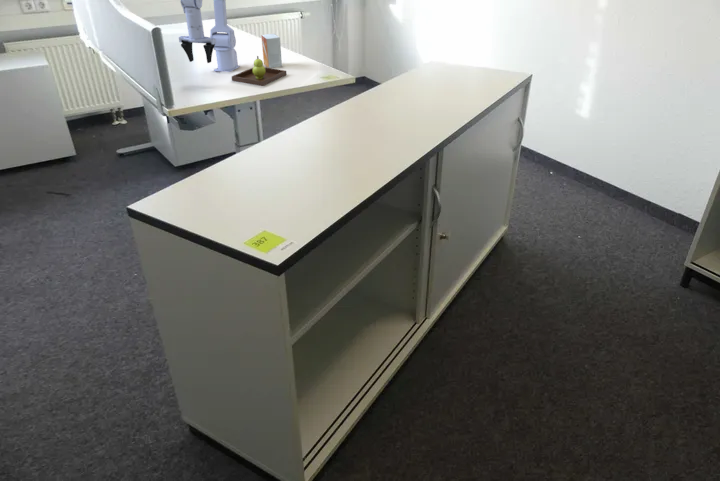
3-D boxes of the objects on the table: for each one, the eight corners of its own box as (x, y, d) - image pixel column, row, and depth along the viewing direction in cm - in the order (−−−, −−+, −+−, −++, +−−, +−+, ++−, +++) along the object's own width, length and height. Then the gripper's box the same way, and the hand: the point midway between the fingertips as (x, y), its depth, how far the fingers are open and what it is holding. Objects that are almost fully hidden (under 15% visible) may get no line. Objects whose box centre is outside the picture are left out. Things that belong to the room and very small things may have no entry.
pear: (256, 75, 237) (254, 53, 232) (268, 76, 236) (266, 54, 231) (251, 78, 233) (248, 57, 228) (262, 80, 231) (260, 58, 226)
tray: (256, 71, 244) (256, 66, 243) (286, 76, 238) (286, 70, 237) (232, 81, 231) (231, 76, 229) (262, 87, 225) (262, 81, 224)
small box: (263, 64, 253) (261, 34, 246) (276, 62, 255) (274, 33, 248) (268, 69, 247) (266, 38, 240) (282, 67, 249) (280, 37, 242)
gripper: (172, 27, 210) (178, 63, 217) (208, 29, 207) (213, 65, 215) (181, 23, 216) (187, 58, 223) (216, 25, 213) (220, 60, 221)
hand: (200, 61), depth 219 cm, fingers open, 7 cm apart
